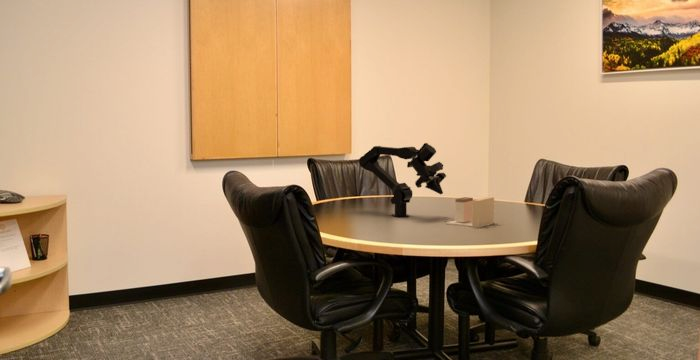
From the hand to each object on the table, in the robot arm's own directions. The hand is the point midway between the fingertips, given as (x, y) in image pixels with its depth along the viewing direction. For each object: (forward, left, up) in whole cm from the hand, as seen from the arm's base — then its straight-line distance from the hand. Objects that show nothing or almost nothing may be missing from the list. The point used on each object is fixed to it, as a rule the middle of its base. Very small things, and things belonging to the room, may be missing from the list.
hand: (442, 193), depth 286 cm
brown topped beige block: (+10, +6, -12) cm, 17 cm away
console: (+12, +7, -12) cm, 19 cm away
